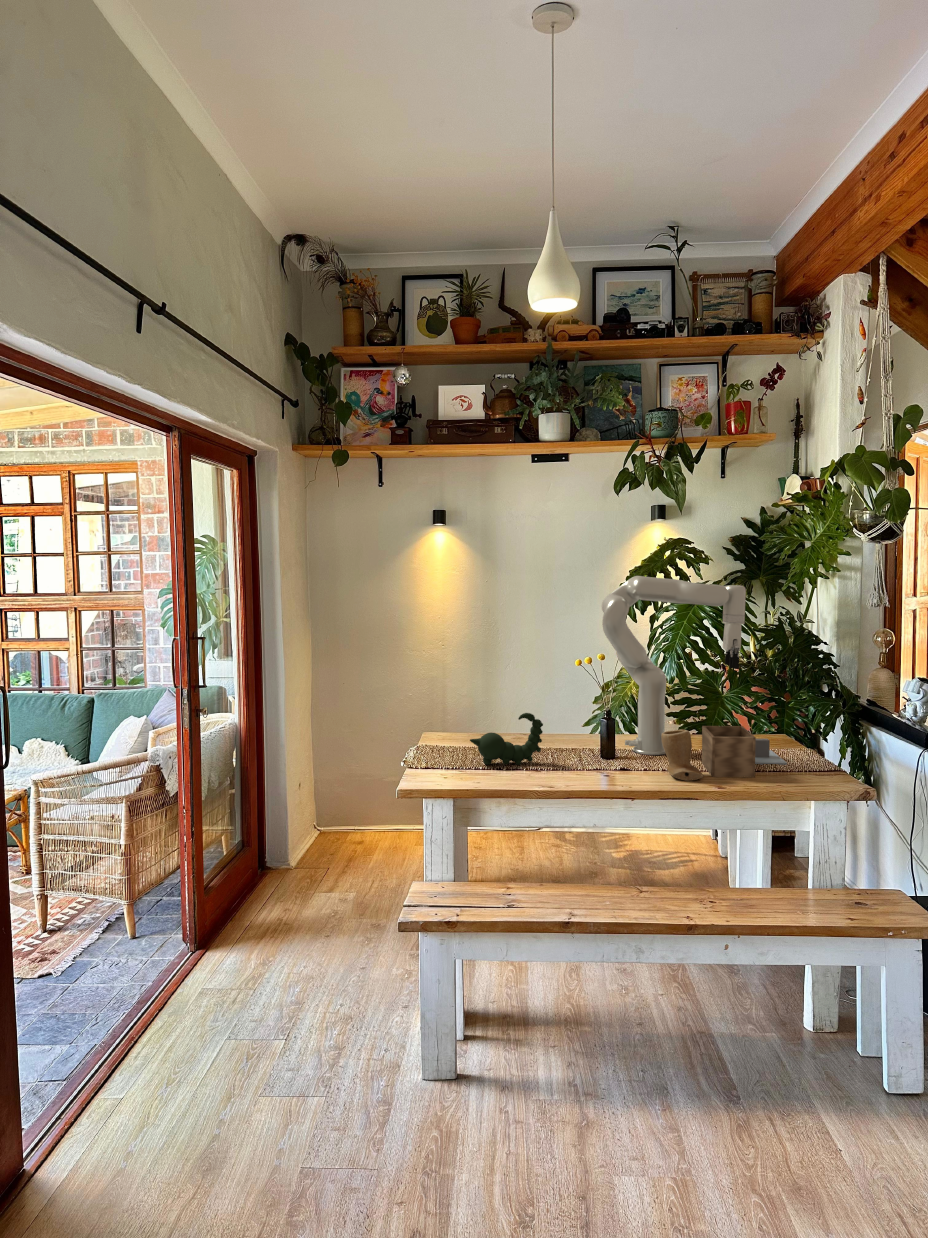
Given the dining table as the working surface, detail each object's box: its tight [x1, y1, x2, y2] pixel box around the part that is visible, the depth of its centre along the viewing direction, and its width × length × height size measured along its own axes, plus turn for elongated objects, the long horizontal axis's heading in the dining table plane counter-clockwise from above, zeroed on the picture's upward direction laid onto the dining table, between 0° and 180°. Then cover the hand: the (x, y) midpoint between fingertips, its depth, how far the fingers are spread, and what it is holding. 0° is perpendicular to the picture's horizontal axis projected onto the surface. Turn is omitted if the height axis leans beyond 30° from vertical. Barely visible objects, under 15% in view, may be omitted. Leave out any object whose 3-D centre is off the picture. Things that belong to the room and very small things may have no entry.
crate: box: [701, 725, 757, 778], centre depth 283 cm, size 14×18×13 cm
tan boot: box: [661, 729, 704, 782], centre depth 277 cm, size 15×12×15 cm
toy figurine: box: [469, 712, 544, 766], centre depth 295 cm, size 9×19×25 cm
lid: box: [755, 738, 788, 766], centre depth 299 cm, size 14×18×7 cm
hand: (731, 666), depth 308 cm, fingers open, 9 cm apart
